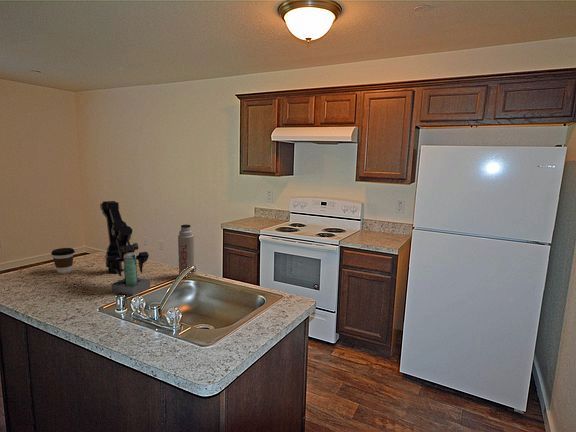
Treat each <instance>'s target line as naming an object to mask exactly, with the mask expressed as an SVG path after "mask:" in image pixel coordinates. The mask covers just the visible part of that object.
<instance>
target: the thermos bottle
mask: <svg viewBox="0 0 576 432" xmlns="http://www.w3.org/2000/svg"><path fill="white" fill-rule="evenodd" d="M194 237H195V236H194V234H193V231H192V230H191V224H181V225H180V230H179V232H178V235H177V244H178V245H177V247H178V248H177V249H178V250H177V252H178V275H179V274H180V273H181V272H182V271H183V270H184V269H186V268H187V267H189V266H194V267H195V244H194V242H195V240H194V239H195V238H194ZM193 275H194V276H195V271H194V272H191V273H189V274H188V275H187V276H186V277H188V276H193Z"/></svg>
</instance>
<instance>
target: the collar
mask: <svg viewBox="0 0 576 432" xmlns="http://www.w3.org/2000/svg"><path fill="white" fill-rule="evenodd" d="M150 288H151V279H148V278H143V277H137V283H136V284H133V285H127V284H125V278H122V279H120V280H118V281H116V282H114V283H111V293H113V294H118V295H120V294H119V293H122V294H121V295H124V294H126V295H125V296H130V297H131V296H132V297H133V295H134V296H136V295H138V294H140V293H142V292H144V291H145V290H146V291H147V289H150ZM141 291H142V292H141ZM139 292H140V293H139ZM137 293H138V294H137ZM135 294H136V295H135Z"/></svg>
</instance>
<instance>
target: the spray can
mask: <svg viewBox="0 0 576 432" xmlns="http://www.w3.org/2000/svg"><path fill="white" fill-rule="evenodd" d="M136 256H137V253H135V252H134V253H133V251H130V250H129V251H128V252H126V253H125V254H124V256H123V257H124V262H123V269H124V271H123V273H124V274H123V275H124V279H125V284H127V285H133V284H136V283H137V278H138V271H137V270H138V267H137V260H136Z"/></svg>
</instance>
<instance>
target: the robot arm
mask: <svg viewBox="0 0 576 432" xmlns="http://www.w3.org/2000/svg"><path fill="white" fill-rule="evenodd" d="M119 209H120V203H119V202H118V201H115V200H104V201H102V202H101V203H100V210H101V212H102V213H101V214H102V215H103V216H104V217H105V219H106V225H107V235H108V241H109V242H108V243H109V244H108V246H107V249H106V251H105V256H104V258H105V267H106V268H107V269H108V270H106V273H109V274H118V276H119V277H120V278H121V277H122V272H124V268H123V267H122V266H123V265H122V264H123V263H124V257H123V256H124V254H125V253H126V252H128V251H129V250H130V251H133V253H135V252H136V251H137V250H139V244H138V242H133V244H131V242H130V240H131V239H132V235H133V228H132V227H131V226H129V225H128V224H127V223H126V222H125V221H124V220H123V218H122V215H121V213H120V210H119ZM149 256H150V255H149V252H147V251H141V252H140V251H139V253H138V255H137V254H136V261H138V268H139V272H140V274H142V273H143V269H144V264H145V263H146V262H147V261H148V260H149ZM122 262H123V263H122Z"/></svg>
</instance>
